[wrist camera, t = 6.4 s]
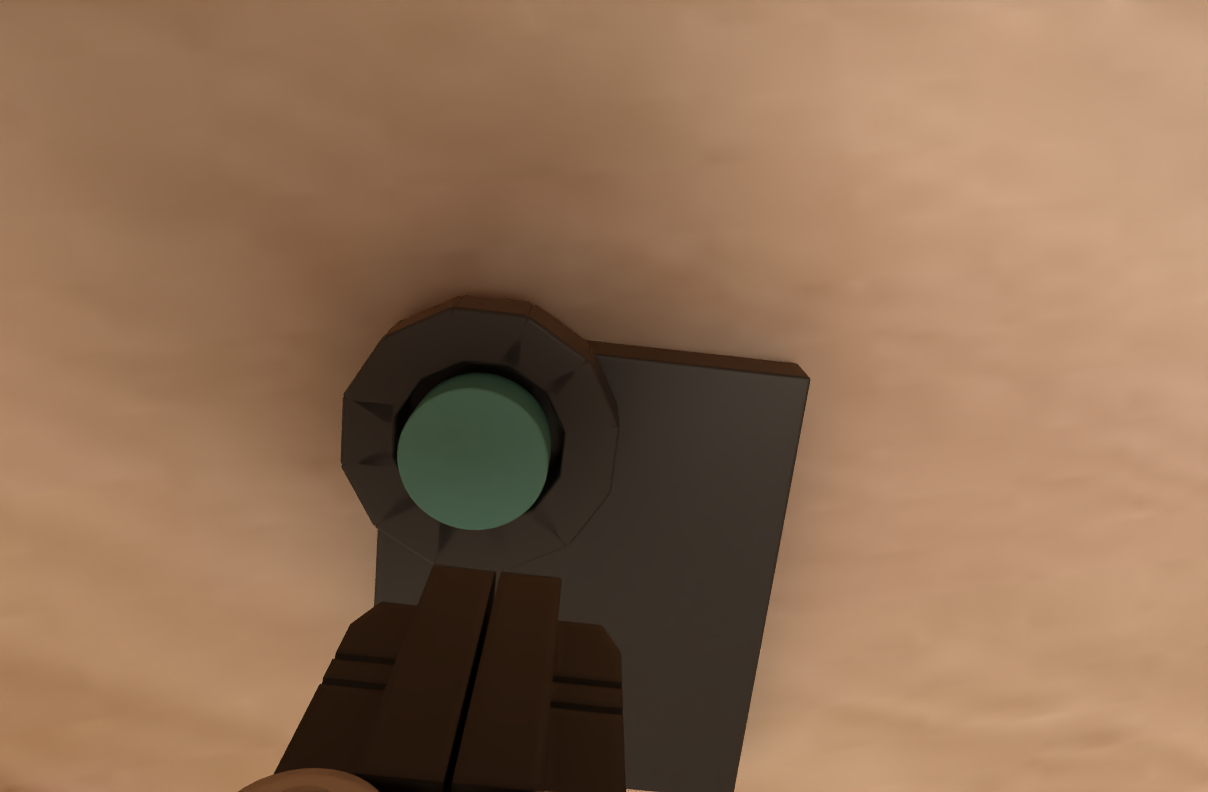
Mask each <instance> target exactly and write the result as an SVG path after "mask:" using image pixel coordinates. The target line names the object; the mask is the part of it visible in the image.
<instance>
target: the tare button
mask: <svg viewBox="0 0 1208 792" xmlns="http://www.w3.org/2000/svg"><path fill="white" fill-rule="evenodd" d="M551 445H552V438H551V430H550V426H549V422H548V420H547V417H546V415H545V413H544V411H543V409H542V407H541V406H540V404H539V403H538V402H537V400H536V399H535V398H534V397H533V396H532V395H531V394H530V393H529V392H528V391H527V390H526V389H524V388H523V387H522V386H520V385H519V384H517V383H515V382H514V381H512V380H509V379H507V378H505V377H502V376H499V375H495V374H489V373H466V374H461V375H457V376H454V377H452V378H449V379H447V380H445V381H443V382H441V383H440V384H438V385H437V386H435V387H434V388H433V389H432V390H430V391H429V392H428V393H427V394H426V395H425V397H424V398H423V399H422V400H421V402H420V403H419V405H418V406H417V407H416V409H415V410H414V412H413V413H412V415H411V416H410V418H409V419H408V421H407V422H406V424H405V426H404V428H403V430H402V433H401V435H400V439H399V443H398V450H397V462H398V469H399V473H400V477H401V480H402V482H403V484H404V487H405V489H406V490H407V492H408V494H409V495H410V497H411V498H412V499H413V501H414V502H415V503H416V504H417V505H418V506H419V507H420V508H421V509H422V510H423V511H424V512H426V513H427V514H428V515H430V516H431V517H433V518H434V519H436V520H438V521H439V522H442V523H444V524H447V525H449V526H452V527H456V528H461V529H467V530H484V529H490V528H495V527H499V526H502V525H505V524H507V523H509V522H511V521H513V520H515V519H516V518H518V517H519V516H521V515H522V514H523V513H525V512H526V511H527V510H528V509H529V508H530V507H531V506H532V505H533V503H534V502H535V501H536V499H537V498H538V496H539V495H540V493H541V491H542V489H543V487H544V484H545V481H546V478H547V473H548V467H549V461H550V454H551Z"/></svg>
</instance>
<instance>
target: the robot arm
mask: <svg viewBox="0 0 1208 792" xmlns="http://www.w3.org/2000/svg"><path fill="white" fill-rule="evenodd" d="M561 581H562V578H559V577H550V576H541V575H531V574H522V573H513V572H504V571H501V573H500V577H499V581H498V585H497V589H496V594H495V588H496V571H493V570H484V569H475V568H466V567H457V566H448V565H438V564H434V565H433V567H432V569H431V572H430V574H429V577H428V580H427V582H426V585H425V587H424V590H423V592H422V595H421V597H420V600H419V603H418V605H409V604H400V603H390V602H380V603H379V604H377V605H376V606H375V607H373V608H372V609H371V610H369V611H368V612H366V613H365V614H364V615H362V616H361V617H360V618H358V619H357V620H355V621H354V622H353V623H351V624H350V626H349V628H348V630H347V632H346V634H345V636H344V638H343V640H342V642H341V644H340V646H339V648H338V649H337V651H336V655H335V659H332V661H331V663H330V665H329V667H328V669H327V671H326V673H325V675H324V677H323V682H322V684H320V685H319V687H318V689H317V691H316V692H315V694H314V696H313V698H312V700H311V702H310V704H309V706H308V708H307V710H306V712H305V714H304V716H303V718H302V720H301V722H300V724H299V726H298V728H297V730H296V732H295V733H294V735H293V737H292V739H291V741H290V743H289V745H288V747H287V749H286V751H285V753H284V755H283V757H282V759H281V761H280V763H279V765H278V767H277V769H276V771H275V773H274V774H273V775H271V776H268V777H265V778H263V779H260V780H258V781H256V782H254V783H252V784H250V785H248V786H246V787H244V788H243V789H241V790H240V791H238V792H626V775H625V748H624V720H623V693H622V665H621V652H620V650H619V649H618V648H617V646H616V645H615V643H614V642H613V640H612V639H611V637H610V636H609V634H608V633H607V632H606V630H605V629H604V627H603V626H602V625H596V624H587V623H578V622H568V621H559V620H558V614H559V603H560V592H561Z"/></svg>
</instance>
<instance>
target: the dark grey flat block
mask: <svg viewBox="0 0 1208 792" xmlns="http://www.w3.org/2000/svg"><path fill="white" fill-rule="evenodd" d="M466 373H489V374H495V375H499V376H502V377H505V378H507V379H509V380H512V381H514V382H515V383H517V384H519V385H520V386H522V387H523V388H524V389H526V390H527V391H528V392H529V393H530V394H531V395H532V396H533V397H534V398H535V399H536V400H537V402H538V403H539V404H540V406H541V407H542V409H543V411H544V413H545V415H546V417H547V420H548V422H549V426H550V430H551V438H552V445H551V454H550V461H549V467H548V473H547V478H546V481H545V484H544V487H543V489H542V491H541V493H540V495H539V496H538V498H537V499H536V501H535V502H534V503H533V505H532V506H531V507H530V508H529V509H528V510H527V511H526V512H525V513H523V514H522V515H521V516H519V517H518V518H516V519H515V520H513V521H511V522H509V523H507V524H505V525H502V526H499V527H495V528H490V529H484V530H467V529H461V528H456V527H452V526H449V525H447V524H444V523H442V522H439V521H438V520H436V519H434V518H433V517H431V516H430V515H428V514H427V513H426V512H424V511H423V510H422V509H421V508H420V507H419V506H418V505H417V504H416V503H415V502H414V501H413V499H412V498H411V497H410V495H409V494H408V492H407V490H406V489H405V487H404V484H403V482H402V480H401V477H400V473H399V469H398V462H397V450H398V443H399V439H400V435H401V433H402V430H403V428H404V426H405V424H406V422H407V421H408V419H409V418H410V416H411V415H412V413H413V412H414V410H415V409H416V407H417V406H418V405H419V403H420V402H421V400H422V399H423V398H424V397H425V395H426V394H427V393H428V392H429V391H430V390H432V389H433V388H434V387H435V386H437V385H438V384H440V383H441V382H443V381H445V380H447V379H449V378H452V377H454V376H457V375H461V374H466ZM809 384H810V378H809V377H808V375H807V374H806V373H805V372H804V371H803V370H802V369H801V368H800V366H799V365H797V364H791V363H782V362H773V361H764V360H755V359H747V358H738V357H729V356H720V355H711V354H702V353H693V352H684V351H675V350H666V349H657V348H648V347H639V346H630V345H622V344H613V343H604V342H595V341H586V340H584V339H582V338H581V337H580V336H578V335H577V334H576V333H574V332H573V331H571V330H570V329H569V328H567V327H566V326H564V325H563V324H562V323H560V322H559V321H558V320H556V319H555V318H553V317H552V316H551V315H549V314H548V313H546V312H545V311H544V310H542V309H541V308H540V307H538V306H537V305H532V304H531V303H529V302H520V301H512V300H503V299H494V298H485V297H476V296H467V295H466V296H463V297H462V296H458V297H456V298H453V299H451V300H449V301H447V302H444V303H442V304H440V305H438V306H435V307H433V308H431V309H428V310H426V311H424V312H422V313H419V314H417V315H415V316H412V317H410V318H408V319H406V320H401V321H399V322H398V323H397V324H396V325H395V326H394V327H392V328H391V329H390V330H389V331H388V333H387V334H386V335H385V336H384V337H382V339H381V340H380V341H379V343H378V344H377V346H376V347H375V349H374V350H373V352H372V353H371V355H370V356H369V357H368V359H367V360H366V362H365V363H364V365H363V366H362V368H361V369H360V371H359V372H358V373H357V375H356V376H355V378H354V379H353V381H352V382H351V384H350V385H349V387H348V388H347V389H346V391H345V392H344V397H343V409H342V438H341V464H342V465H341V466H342V469H343V471H344V472H345V474H346V476H347V478H348V480H349V481H350V483H351V485H352V487H353V489H354V491H355V492H356V494H357V496H358V498H359V500H360V502H361V503H362V505H363V507H364V509H365V511H366V512H367V514H368V516H369V518H370V520H371V522H372V523H373V525H374V526H375V525H376V526H375V527H376V528H377V529H378V538H377V559H376V579H375V600H374V607H375V606H376V605H377V604H379V603H380V602H390V603H400V604H409V605H418V603H419V600H420V597H421V595H422V592H423V590H424V587H425V585H426V582H427V580H428V577H429V574H430V572H431V569H432V567H433V565H434V564H438V565H448V566H457V567H466V568H475V569H484V570H493V571H496V588H495V594H496V589H497V585H498V581H499V577H500V573H501V571H504V572H513V573H522V574H531V575H541V576H550V577H559V578H562V581H561V592H560V603H559V614H558V620H559V621H568V622H578V623H587V624H596V625H602V626H603V627H604V629H605V630H606V632H607V633H608V634H609V636H610V637H611V639H612V640H613V642H614V643H615V645H616V646H617V648H618V649H619V650H620V652H621V665H622V693H623V720H624V748H625V775H626V789H635V790H645V791H656V792H734V788H735V782H736V777H737V772H738V766H739V761H740V756H741V750H742V745H743V739H744V734H745V729H746V723H747V718H748V712H749V707H750V702H751V696H752V691H753V686H754V680H755V675H756V669H757V664H758V659H759V653H760V648H761V643H762V637H763V632H764V626H765V621H766V616H767V610H768V605H769V600H770V594H771V589H772V583H773V578H774V573H775V567H776V562H777V556H778V551H779V546H780V540H781V535H782V530H783V524H784V519H785V513H786V508H787V503H788V497H789V492H790V487H791V481H792V476H793V470H794V465H795V460H796V454H797V449H798V444H799V438H800V433H801V427H802V422H803V417H804V411H805V406H806V400H807V395H808V390H809Z"/></svg>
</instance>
